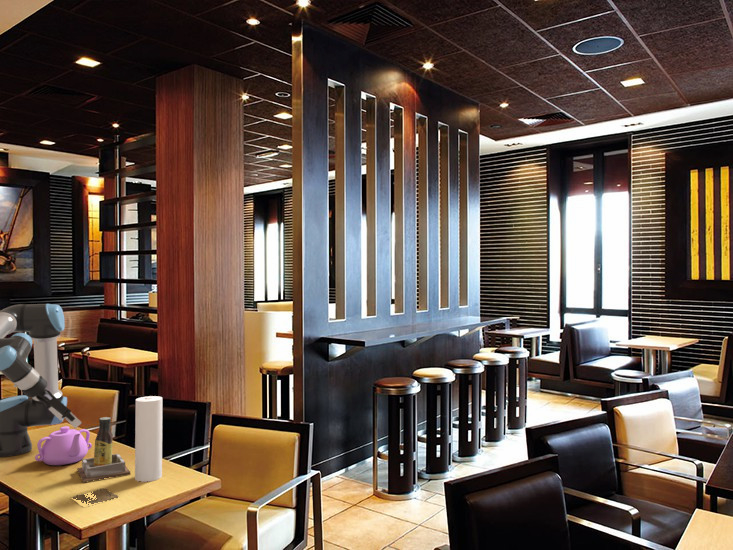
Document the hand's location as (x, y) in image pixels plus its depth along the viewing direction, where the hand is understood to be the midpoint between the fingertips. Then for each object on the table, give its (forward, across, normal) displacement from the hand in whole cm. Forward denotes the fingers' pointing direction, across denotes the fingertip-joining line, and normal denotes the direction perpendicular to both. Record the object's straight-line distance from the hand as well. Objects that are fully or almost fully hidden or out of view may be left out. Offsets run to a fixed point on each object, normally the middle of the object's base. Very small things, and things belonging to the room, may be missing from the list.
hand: (70, 421), depth 205 cm
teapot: (+22, -21, -9) cm, 32 cm away
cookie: (+15, +25, -15) cm, 33 cm away
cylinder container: (+29, +20, +2) cm, 36 cm away
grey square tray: (+24, +2, -5) cm, 25 cm away
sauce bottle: (+23, +2, -5) cm, 24 cm away
